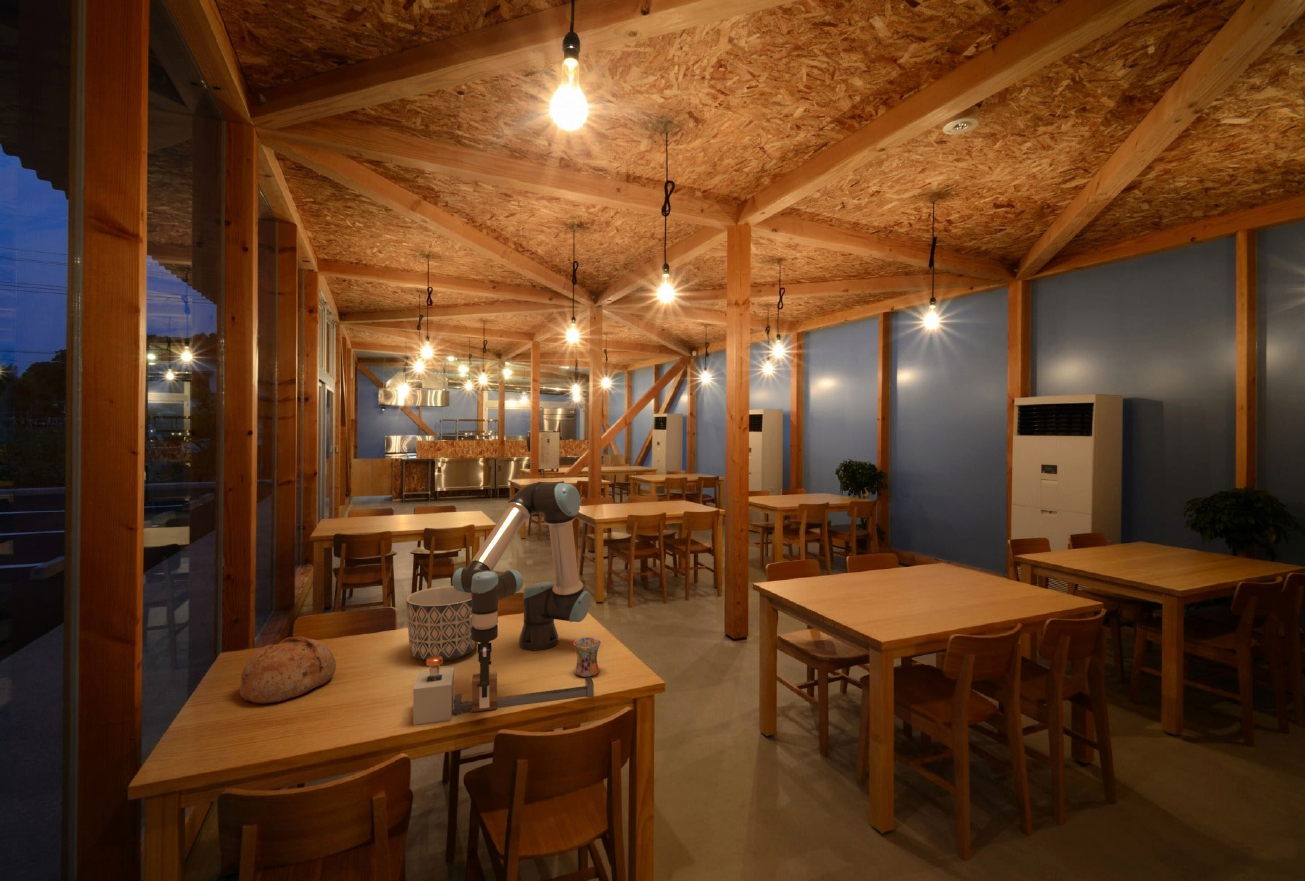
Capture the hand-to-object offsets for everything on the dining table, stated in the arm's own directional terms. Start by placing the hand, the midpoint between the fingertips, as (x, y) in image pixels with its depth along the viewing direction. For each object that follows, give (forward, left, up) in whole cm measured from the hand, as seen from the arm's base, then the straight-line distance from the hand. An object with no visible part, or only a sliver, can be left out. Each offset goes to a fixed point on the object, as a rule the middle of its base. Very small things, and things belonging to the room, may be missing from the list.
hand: (484, 697), depth 165 cm
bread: (-32, -61, -3) cm, 69 cm away
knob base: (-1, -14, -3) cm, 14 cm away
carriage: (0, 0, -3) cm, 3 cm away
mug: (-17, +33, -3) cm, 37 cm away
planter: (-47, -15, -3) cm, 49 cm away
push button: (-1, -14, +6) cm, 15 cm away
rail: (0, +12, -3) cm, 12 cm away
